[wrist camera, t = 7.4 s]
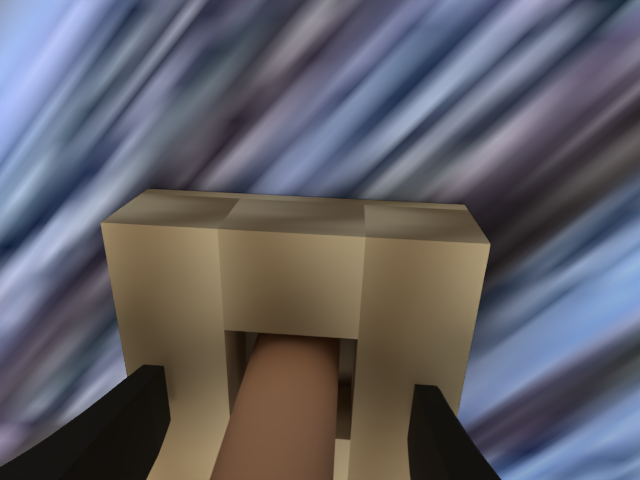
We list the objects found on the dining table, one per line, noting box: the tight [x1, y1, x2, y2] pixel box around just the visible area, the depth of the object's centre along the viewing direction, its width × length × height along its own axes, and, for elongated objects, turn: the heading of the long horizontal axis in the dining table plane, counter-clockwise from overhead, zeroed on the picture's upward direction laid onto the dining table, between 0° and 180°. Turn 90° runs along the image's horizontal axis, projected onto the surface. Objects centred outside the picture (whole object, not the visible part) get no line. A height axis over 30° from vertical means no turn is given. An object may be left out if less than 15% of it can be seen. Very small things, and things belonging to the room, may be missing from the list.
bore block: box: [101, 189, 491, 480], centre depth 15 cm, size 10×10×3 cm
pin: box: [210, 332, 340, 480], centre depth 13 cm, size 3×3×7 cm
